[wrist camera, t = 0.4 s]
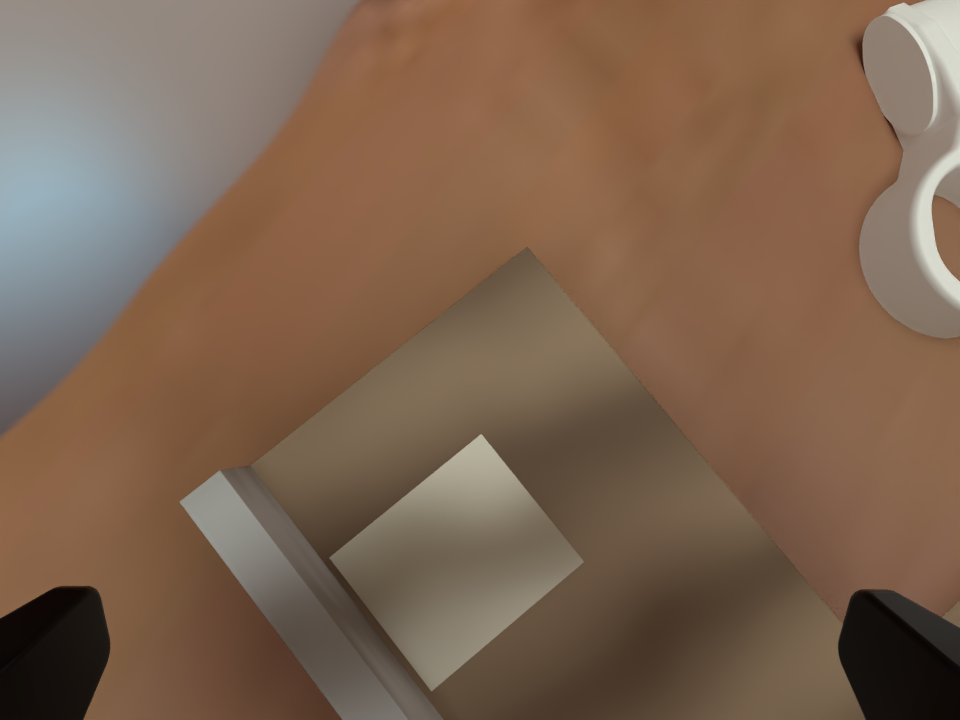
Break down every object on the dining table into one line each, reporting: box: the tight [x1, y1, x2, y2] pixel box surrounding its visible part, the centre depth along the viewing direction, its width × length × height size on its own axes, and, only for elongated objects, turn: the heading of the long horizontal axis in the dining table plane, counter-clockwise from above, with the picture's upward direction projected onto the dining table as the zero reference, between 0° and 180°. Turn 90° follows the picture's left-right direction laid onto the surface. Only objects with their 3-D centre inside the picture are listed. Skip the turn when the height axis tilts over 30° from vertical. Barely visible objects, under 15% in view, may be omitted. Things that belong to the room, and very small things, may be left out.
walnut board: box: [180, 247, 866, 720], centre depth 20 cm, size 26×13×4 cm, turn 39°
